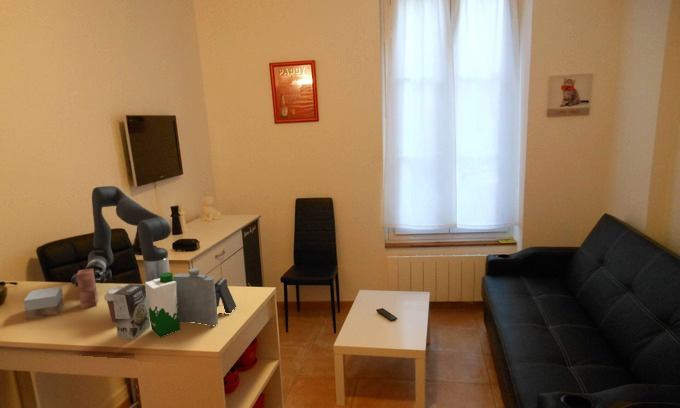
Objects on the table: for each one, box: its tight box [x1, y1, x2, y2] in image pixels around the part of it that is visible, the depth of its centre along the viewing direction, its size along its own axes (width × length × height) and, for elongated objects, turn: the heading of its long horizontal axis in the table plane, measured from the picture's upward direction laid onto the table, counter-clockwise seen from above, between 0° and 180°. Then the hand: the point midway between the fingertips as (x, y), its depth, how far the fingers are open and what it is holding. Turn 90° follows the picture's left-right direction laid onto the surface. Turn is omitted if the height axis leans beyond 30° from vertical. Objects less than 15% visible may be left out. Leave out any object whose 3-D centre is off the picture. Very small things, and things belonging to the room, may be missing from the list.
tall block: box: [76, 268, 99, 309], centre depth 170 cm, size 5×5×14 cm
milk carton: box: [144, 272, 181, 338], centre depth 148 cm, size 9×9×20 cm
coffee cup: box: [103, 285, 126, 325], centre depth 157 cm, size 9×9×12 cm
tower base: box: [24, 297, 64, 321], centre depth 166 cm, size 10×10×4 cm
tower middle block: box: [23, 285, 64, 312], centre depth 165 cm, size 10×10×4 cm
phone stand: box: [215, 277, 237, 314], centre depth 163 cm, size 9×6×12 cm, turn 82°
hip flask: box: [172, 267, 219, 327], centre depth 153 cm, size 16×4×20 cm, turn 73°
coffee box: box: [113, 283, 151, 341], centre depth 147 cm, size 9×6×16 cm
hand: (89, 282), depth 174 cm, fingers open, 8 cm apart
